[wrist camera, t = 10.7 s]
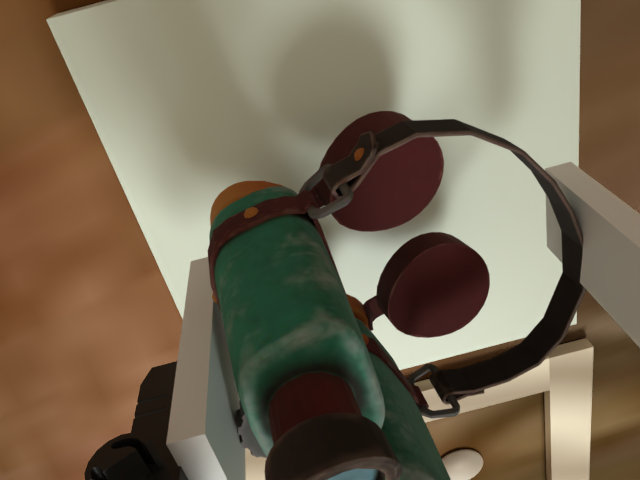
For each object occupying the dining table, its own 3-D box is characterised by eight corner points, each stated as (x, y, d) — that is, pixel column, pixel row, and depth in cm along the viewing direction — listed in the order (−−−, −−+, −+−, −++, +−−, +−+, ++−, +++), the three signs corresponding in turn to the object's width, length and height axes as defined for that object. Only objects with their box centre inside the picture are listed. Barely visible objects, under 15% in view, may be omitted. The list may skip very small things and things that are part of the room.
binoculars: (807, 506, 11) (372, 733, 12) (527, 256, 21) (286, 387, 21) (805, 129, 7) (102, 510, 7) (449, 23, 16) (143, 194, 16)
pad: (564, 309, 24) (576, 323, 24) (226, 397, 25) (226, 415, 24) (563, -122, 16) (582, -123, 15) (56, 13, 16) (45, 19, 15)
